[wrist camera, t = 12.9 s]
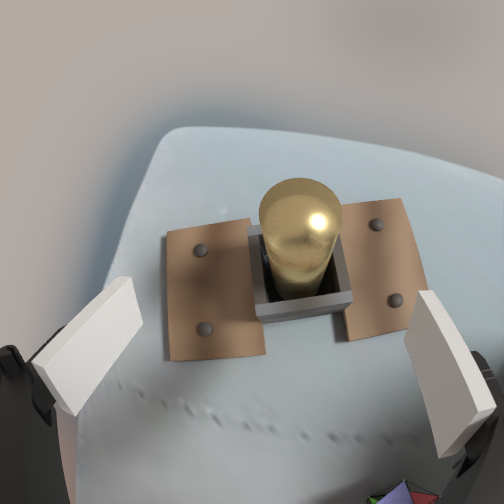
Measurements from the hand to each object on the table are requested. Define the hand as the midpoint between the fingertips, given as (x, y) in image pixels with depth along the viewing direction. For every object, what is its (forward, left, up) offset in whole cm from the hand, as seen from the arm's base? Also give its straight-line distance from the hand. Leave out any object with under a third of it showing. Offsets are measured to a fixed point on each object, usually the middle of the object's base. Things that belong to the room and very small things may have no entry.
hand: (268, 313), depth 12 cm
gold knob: (-2, -4, -12) cm, 13 cm away
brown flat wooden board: (-2, -4, -12) cm, 13 cm away
